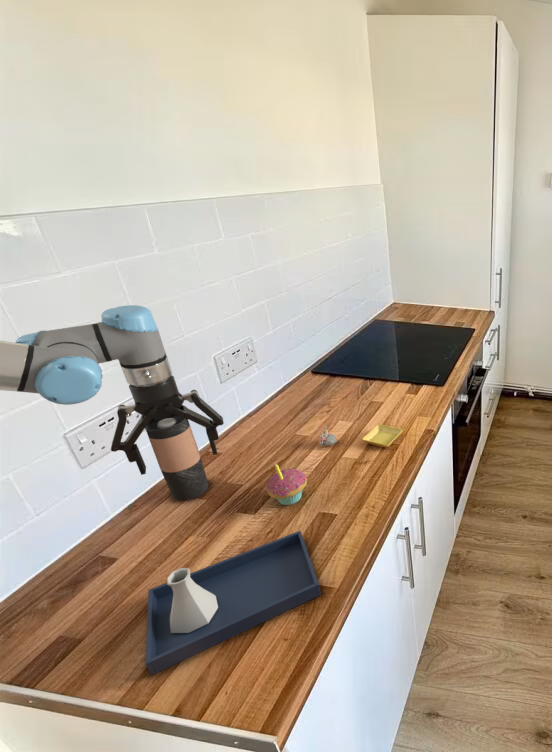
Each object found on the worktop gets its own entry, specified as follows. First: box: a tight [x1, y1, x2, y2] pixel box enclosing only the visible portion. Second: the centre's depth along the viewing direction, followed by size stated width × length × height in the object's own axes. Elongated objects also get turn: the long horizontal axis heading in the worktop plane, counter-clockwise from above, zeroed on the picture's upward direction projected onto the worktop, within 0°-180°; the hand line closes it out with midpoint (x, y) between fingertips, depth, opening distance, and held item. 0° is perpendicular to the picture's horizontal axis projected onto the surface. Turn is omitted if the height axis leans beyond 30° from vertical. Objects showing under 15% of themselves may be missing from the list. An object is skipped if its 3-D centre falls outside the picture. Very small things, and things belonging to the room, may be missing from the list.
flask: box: [166, 567, 218, 633], centre depth 74 cm, size 7×7×10 cm
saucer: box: [361, 423, 404, 449], centre depth 125 cm, size 9×9×2 cm
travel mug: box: [144, 415, 209, 502], centre depth 99 cm, size 8×8×20 cm
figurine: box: [318, 424, 338, 448], centre depth 121 cm, size 5×4×6 cm
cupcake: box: [265, 462, 308, 506], centre depth 100 cm, size 9×8×12 cm
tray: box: [145, 530, 322, 676], centre depth 79 cm, size 25×15×3 cm, turn 125°
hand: (180, 461), depth 99 cm, fingers open, 13 cm apart
